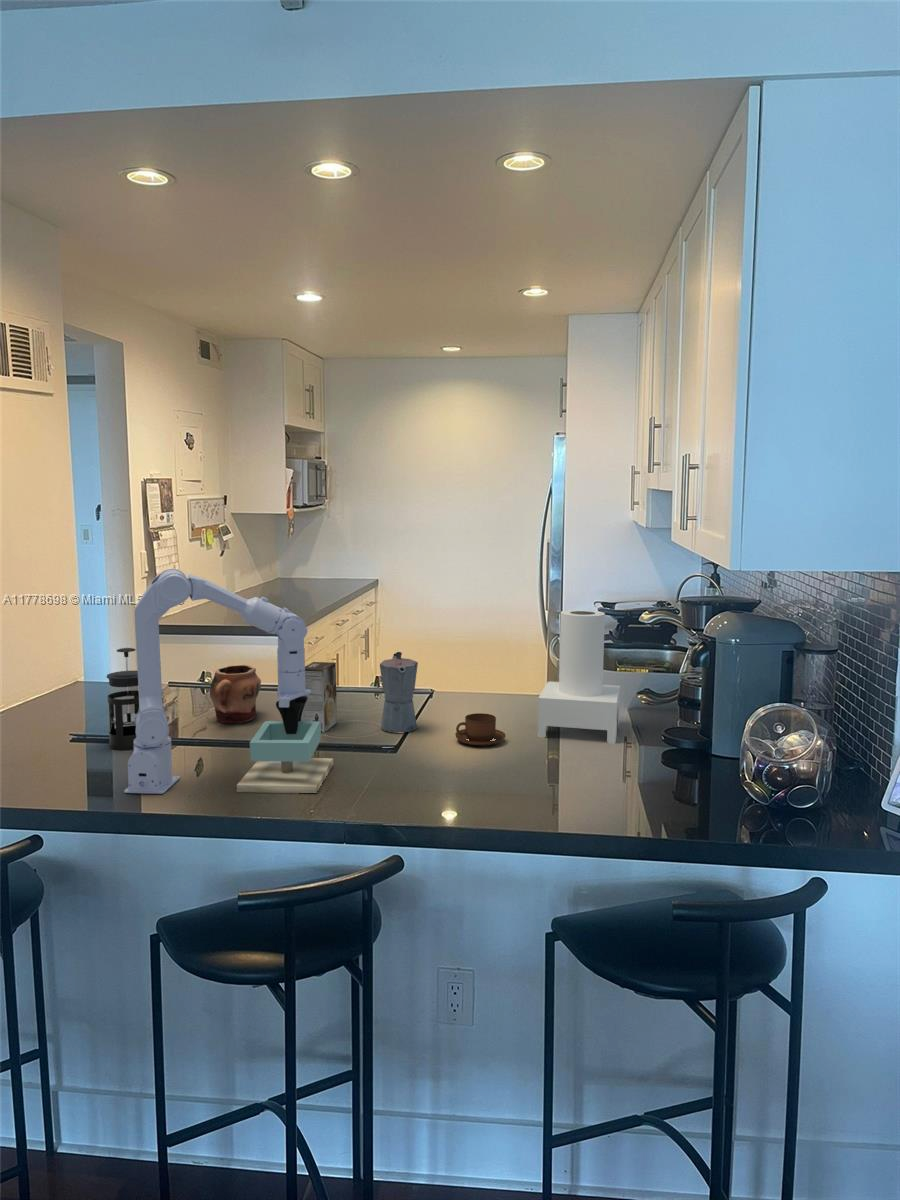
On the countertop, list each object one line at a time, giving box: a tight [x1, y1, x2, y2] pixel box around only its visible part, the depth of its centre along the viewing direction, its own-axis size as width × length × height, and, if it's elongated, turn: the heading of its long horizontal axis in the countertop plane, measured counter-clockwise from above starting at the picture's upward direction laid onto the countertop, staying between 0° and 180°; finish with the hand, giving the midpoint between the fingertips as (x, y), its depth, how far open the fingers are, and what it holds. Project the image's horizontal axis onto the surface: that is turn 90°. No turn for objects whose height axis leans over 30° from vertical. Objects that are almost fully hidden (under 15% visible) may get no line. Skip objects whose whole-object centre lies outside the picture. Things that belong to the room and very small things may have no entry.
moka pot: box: [379, 651, 419, 734], centre depth 216 cm, size 10×15×20 cm, turn 15°
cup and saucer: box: [455, 712, 506, 747], centre depth 206 cm, size 12×12×6 cm
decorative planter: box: [209, 664, 262, 724], centre depth 222 cm, size 20×12×14 cm, turn 173°
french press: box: [106, 647, 139, 751], centre depth 201 cm, size 12×9×23 cm
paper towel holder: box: [537, 609, 621, 744], centre depth 215 cm, size 19×19×30 cm
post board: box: [236, 757, 334, 794], centre depth 179 cm, size 18×16×6 cm
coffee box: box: [301, 661, 338, 733], centre depth 217 cm, size 9×6×16 cm
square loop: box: [249, 720, 322, 762], centre depth 178 cm, size 12×12×4 cm
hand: (292, 732), depth 184 cm, fingers closed on square loop, 2 cm apart
